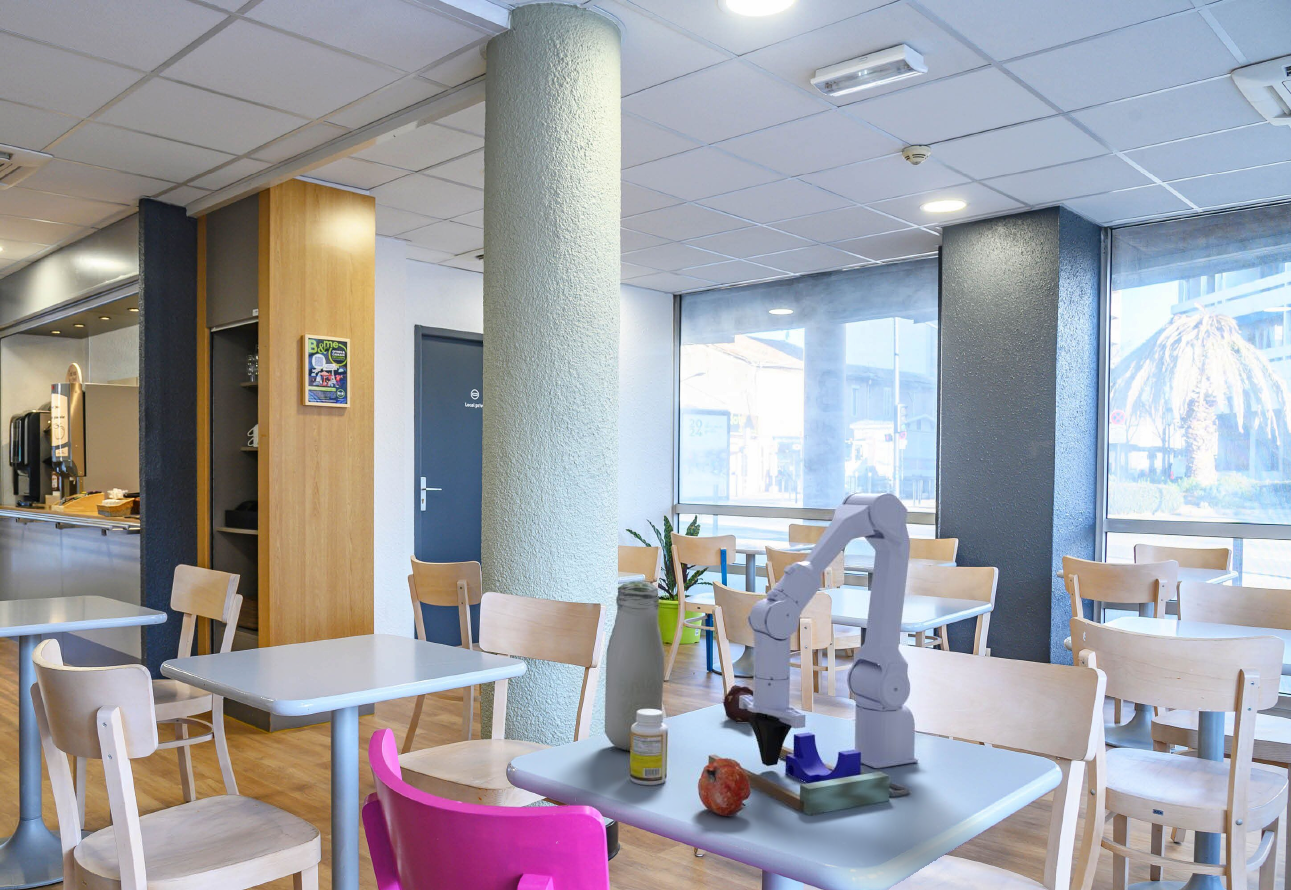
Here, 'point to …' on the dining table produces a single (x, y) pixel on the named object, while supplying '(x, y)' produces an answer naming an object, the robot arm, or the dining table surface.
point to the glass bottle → (633, 661)
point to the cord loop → (896, 793)
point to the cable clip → (819, 761)
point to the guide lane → (824, 790)
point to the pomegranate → (724, 787)
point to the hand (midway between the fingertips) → (769, 763)
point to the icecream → (737, 704)
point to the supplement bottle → (648, 748)
